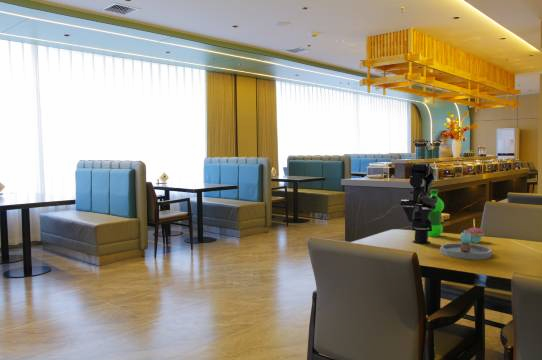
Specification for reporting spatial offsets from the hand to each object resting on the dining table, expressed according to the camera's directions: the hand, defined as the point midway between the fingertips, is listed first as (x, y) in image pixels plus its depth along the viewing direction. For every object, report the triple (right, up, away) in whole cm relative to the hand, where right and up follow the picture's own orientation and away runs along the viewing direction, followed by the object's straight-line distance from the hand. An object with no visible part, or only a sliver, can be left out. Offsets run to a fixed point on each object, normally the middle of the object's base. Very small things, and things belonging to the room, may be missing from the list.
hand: (417, 223), depth 212 cm
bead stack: (+17, -12, -13) cm, 25 cm away
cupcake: (+35, -11, +18) cm, 41 cm away
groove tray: (+19, -13, -8) cm, 25 cm away
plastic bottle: (+19, -10, +34) cm, 40 cm away
